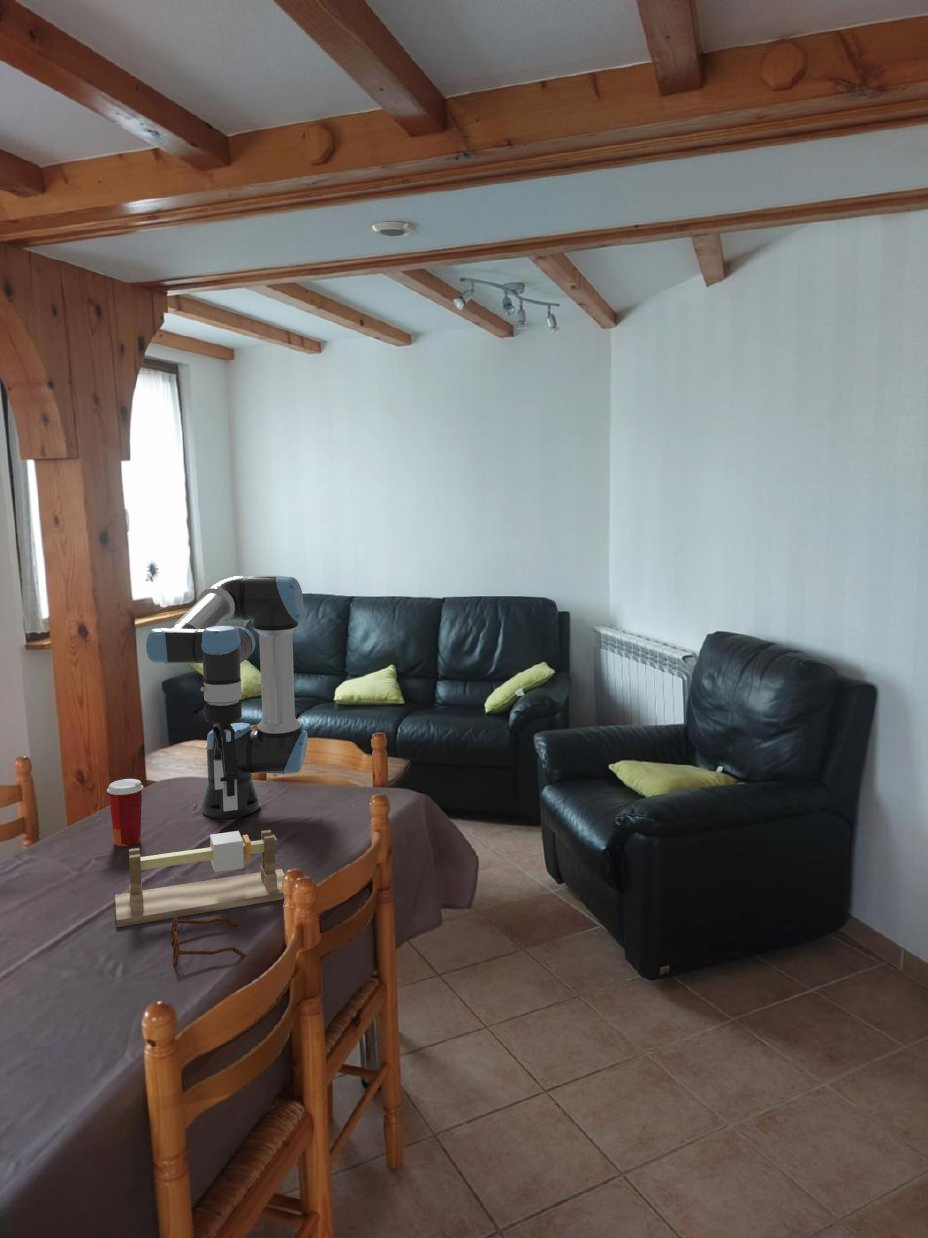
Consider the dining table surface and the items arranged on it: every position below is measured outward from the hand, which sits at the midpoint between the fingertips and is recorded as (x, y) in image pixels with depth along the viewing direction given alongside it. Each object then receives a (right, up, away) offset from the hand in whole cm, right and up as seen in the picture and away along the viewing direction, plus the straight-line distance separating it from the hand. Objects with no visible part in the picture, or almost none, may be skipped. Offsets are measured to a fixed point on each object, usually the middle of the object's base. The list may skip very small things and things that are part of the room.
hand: (225, 799), depth 182 cm
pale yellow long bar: (-4, -14, 0) cm, 14 cm away
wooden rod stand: (-5, -22, +1) cm, 22 cm away
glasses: (+2, -25, -18) cm, 31 cm away
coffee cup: (-33, -17, +31) cm, 48 cm away
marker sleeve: (0, -14, +2) cm, 15 cm away
